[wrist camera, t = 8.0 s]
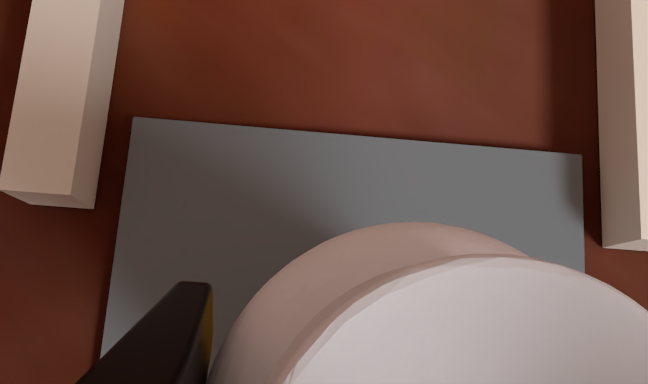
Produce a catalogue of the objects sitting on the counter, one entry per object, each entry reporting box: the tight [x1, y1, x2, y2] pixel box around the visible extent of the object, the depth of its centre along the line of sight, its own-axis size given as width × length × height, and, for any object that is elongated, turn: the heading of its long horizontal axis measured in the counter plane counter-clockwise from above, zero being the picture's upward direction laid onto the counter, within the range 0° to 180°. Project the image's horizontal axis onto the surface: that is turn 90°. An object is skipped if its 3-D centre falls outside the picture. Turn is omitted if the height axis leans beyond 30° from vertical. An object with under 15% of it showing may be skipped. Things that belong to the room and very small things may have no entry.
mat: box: [100, 117, 585, 378], centre depth 15 cm, size 12×12×1 cm
